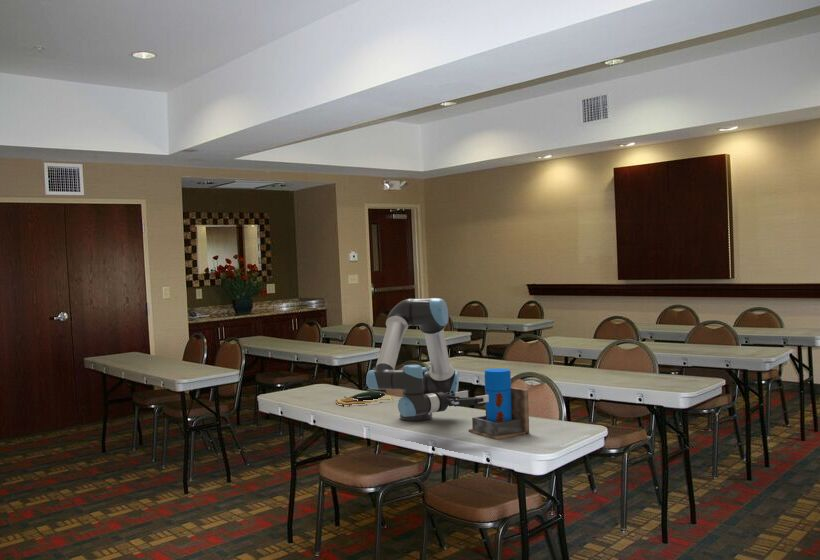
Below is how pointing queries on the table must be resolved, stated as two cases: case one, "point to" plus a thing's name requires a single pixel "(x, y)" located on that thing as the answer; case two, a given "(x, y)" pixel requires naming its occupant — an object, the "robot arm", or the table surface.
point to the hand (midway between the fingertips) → (477, 396)
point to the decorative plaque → (362, 397)
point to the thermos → (498, 395)
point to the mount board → (506, 428)
